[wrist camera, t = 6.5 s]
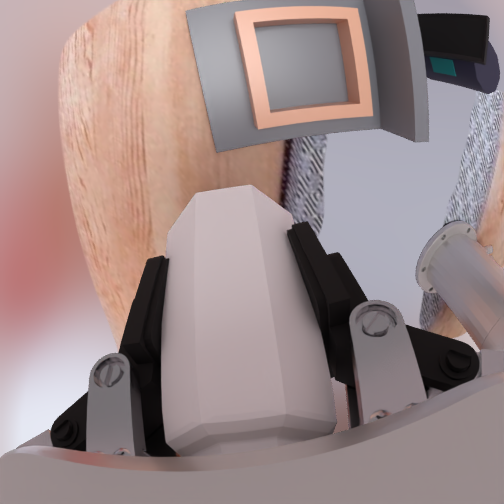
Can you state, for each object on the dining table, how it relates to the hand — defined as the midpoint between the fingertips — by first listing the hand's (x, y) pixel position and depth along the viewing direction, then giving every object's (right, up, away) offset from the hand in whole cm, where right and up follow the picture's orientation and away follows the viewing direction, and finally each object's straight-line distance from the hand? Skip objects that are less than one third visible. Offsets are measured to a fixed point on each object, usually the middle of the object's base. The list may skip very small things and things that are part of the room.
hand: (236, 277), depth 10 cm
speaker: (+20, +23, +11) cm, 32 cm away
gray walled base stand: (+5, +18, +12) cm, 22 cm away
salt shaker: (0, +1, +2) cm, 2 cm away
